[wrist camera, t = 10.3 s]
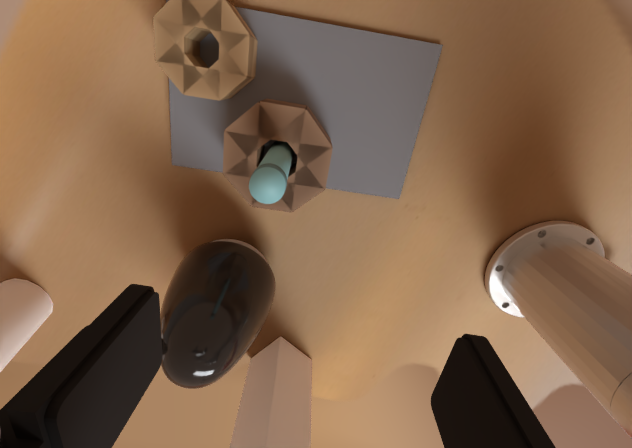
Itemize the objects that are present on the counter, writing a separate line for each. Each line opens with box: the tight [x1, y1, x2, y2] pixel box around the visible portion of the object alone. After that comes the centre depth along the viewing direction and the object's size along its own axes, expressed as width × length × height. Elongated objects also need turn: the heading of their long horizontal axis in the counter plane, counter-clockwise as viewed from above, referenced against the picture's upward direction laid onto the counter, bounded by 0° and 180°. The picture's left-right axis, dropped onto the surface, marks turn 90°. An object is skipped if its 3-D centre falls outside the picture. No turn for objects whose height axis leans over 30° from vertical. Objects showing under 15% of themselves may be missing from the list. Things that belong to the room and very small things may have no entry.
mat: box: [166, 0, 443, 199], centre depth 29 cm, size 23×14×1 cm, turn 81°
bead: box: [223, 99, 333, 212], centre depth 28 cm, size 9×9×4 cm
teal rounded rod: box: [249, 140, 294, 204], centre depth 25 cm, size 2×2×12 cm
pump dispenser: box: [160, 239, 275, 389], centre depth 29 cm, size 10×10×15 cm
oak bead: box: [153, 0, 258, 101], centre depth 25 cm, size 7×7×4 cm
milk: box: [230, 336, 312, 448], centre depth 32 cm, size 6×6×22 cm
